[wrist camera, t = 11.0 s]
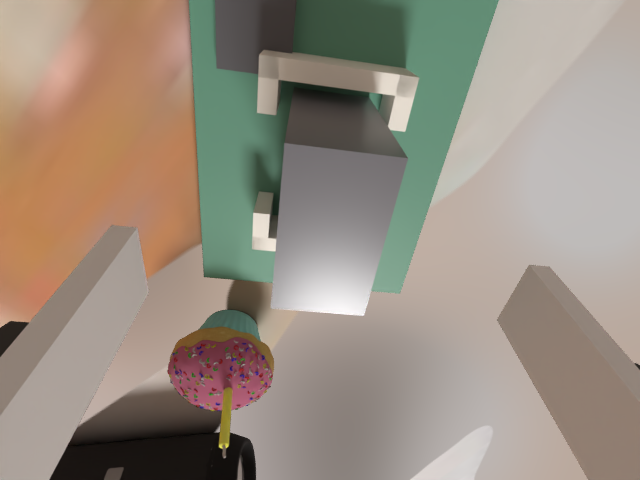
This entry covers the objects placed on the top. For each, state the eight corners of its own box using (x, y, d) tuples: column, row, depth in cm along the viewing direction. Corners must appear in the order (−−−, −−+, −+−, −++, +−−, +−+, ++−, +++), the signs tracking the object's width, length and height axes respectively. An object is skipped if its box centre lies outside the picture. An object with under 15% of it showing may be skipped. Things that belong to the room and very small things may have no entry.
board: (190, -87, 18) (161, -109, 14) (499, -33, 19) (542, -40, 16) (207, 267, 30) (193, 303, 26) (396, 284, 31) (408, 319, 28)
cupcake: (237, 279, 30) (202, 415, 20) (296, 335, 34) (291, 472, 24) (165, 321, 33) (102, 461, 23) (228, 369, 37) (198, 506, 27)
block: (293, 87, 21) (284, 143, 13) (369, 97, 21) (408, 158, 13) (281, 219, 26) (269, 323, 18) (343, 226, 26) (360, 330, 18)
